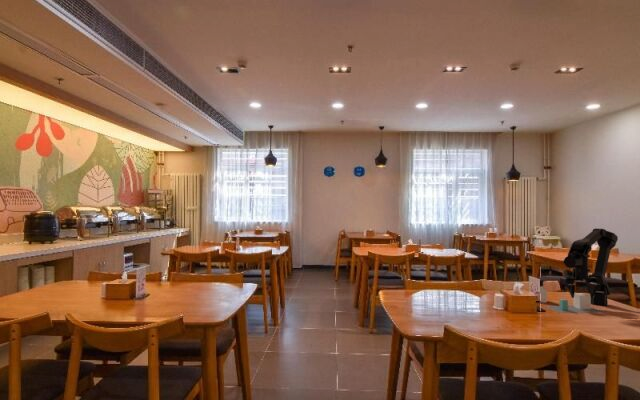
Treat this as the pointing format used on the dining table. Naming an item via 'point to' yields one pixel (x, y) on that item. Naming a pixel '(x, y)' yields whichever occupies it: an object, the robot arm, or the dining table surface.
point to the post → (563, 304)
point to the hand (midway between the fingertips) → (582, 297)
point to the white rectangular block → (582, 301)
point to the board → (574, 310)
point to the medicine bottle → (543, 292)
